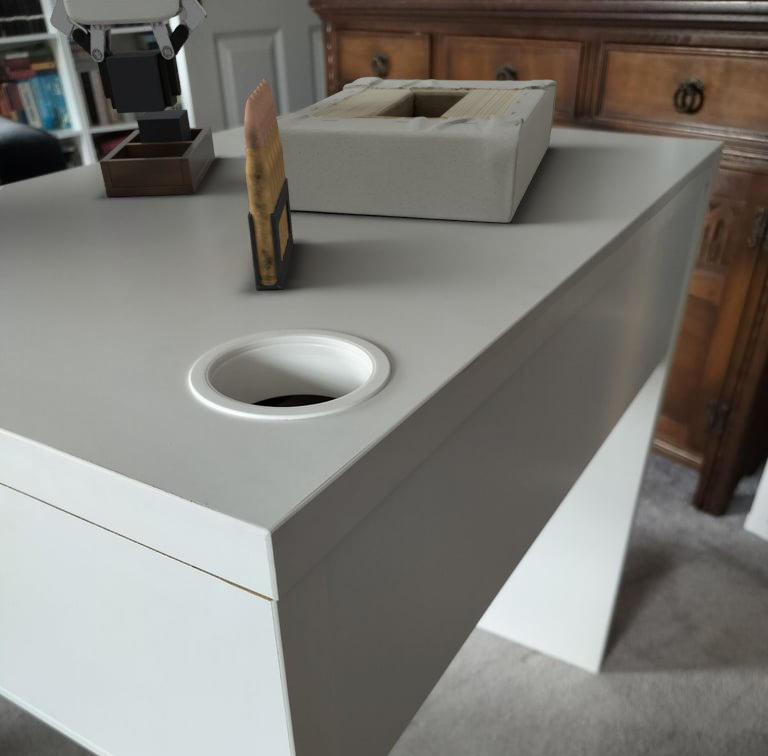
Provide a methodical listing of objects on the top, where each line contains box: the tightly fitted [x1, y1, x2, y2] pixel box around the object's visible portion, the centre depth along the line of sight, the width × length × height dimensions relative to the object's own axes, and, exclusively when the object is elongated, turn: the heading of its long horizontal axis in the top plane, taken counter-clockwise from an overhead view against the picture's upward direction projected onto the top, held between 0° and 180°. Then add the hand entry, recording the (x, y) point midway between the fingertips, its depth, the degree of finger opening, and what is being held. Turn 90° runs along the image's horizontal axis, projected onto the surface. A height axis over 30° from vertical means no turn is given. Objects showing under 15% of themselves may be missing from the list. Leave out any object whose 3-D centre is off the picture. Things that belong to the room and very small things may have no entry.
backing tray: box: [99, 126, 216, 198], centre depth 83 cm, size 9×16×3 cm, turn 3°
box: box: [276, 76, 558, 223], centre depth 79 cm, size 23×8×32 cm
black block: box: [106, 49, 168, 114], centre depth 76 cm, size 4×6×5 cm
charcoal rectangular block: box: [136, 109, 192, 143], centre depth 86 cm, size 4×6×5 cm
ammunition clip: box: [243, 78, 294, 291], centre depth 56 cm, size 11×2×12 cm, turn 1°
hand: (145, 103), depth 77 cm, fingers closed on black block, 4 cm apart
